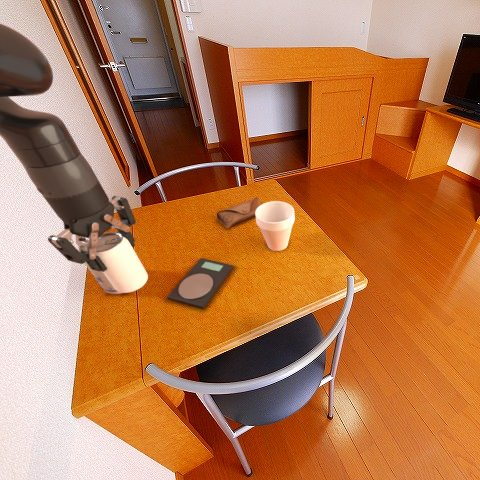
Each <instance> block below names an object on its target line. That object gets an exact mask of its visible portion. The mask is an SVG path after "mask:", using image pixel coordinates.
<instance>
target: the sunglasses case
mask: <svg viewBox="0 0 480 480" xmlns="http://www.w3.org/2000/svg"><path fill="white" fill-rule="evenodd" d="M262 204H263V203H261V201H260V200H259V198H258V197H254V198H252V199H250V200H247V201H244V202H241V203H238V204H235V205H233V206H230V207H228V208H225V209H222V210H219V211H218V212H216V218H217V221H218V222H219V223H220V224H221V225H222V226H224V228H226V229H231V228H232V227H234V226H236V225H239V224H241V223H243V222H246V221H248V220H251V219H253V218H256V216H255V211H256V209H257V208H258V207H259V206H260V205H262Z"/></svg>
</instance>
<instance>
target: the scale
mask: <svg viewBox="0 0 480 480" xmlns="http://www.w3.org/2000/svg"><path fill="white" fill-rule="evenodd" d="M233 269H234V265H232V264H229V263H224V262H220V261H217V260H216V261H215V260H211V259H207V258H203V257H200V259H198V261H197V262H196V263H195V264H194V265H193V266H192V268H191V269H190V270H189V271H188V272H187V273H186V274H185V275H184V277H183V278H182V279H181V280H180V281H179V282H178V284H177V285H176V286H175V287H174V288H173V289H172V290H171V292H169V294H168V295H167V296H166V299H167V300H168V301H172V302H175V303H178V304H182V305H186V306H190V307H193V308H197V309H201V310H204V309H205V308H206V306H207V305H208V303H209V302H210V301H211V300H212V298H213V296H214V295H215V294H216V292H218V290H219V288H220V287H221V286H222V284H223V283H224V281H225V280H226V279H227V278H228V276H229V274H230V273H231V272H232V270H233Z"/></svg>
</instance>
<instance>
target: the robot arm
mask: <svg viewBox="0 0 480 480" xmlns="http://www.w3.org/2000/svg"><path fill="white" fill-rule="evenodd" d="M53 80H54V73H53V68H52V67H51V64H50V62H49V60H48V59H47V57H46V56H45V54H44V53H43V52H42V50H40V48H39V47H38V46H37V45H36V44H35V43H34V42H33V41H32V40H30V39H29V38H28V37H27V36H25V35H24V34H22V33H21V32H19V31H17V30H15V29H14V28H12V27H10V26H8V25H5V24H3V23H0V137H1V138H2V140H4V142H5V143H6V144H7V146H8V148H9V149H10V150H11V151H12V153H13V154H14V156H15V157H16V158H17V159H18V161H19V162H20V164H21V165H22V167H23V168H24V170H25V171H26V174H27V175H28V178H29V179H30V181H31V182H32V183H33V185H34V186H35V188H36V191H38V193H40V195H41V196H42V197H43V198H44V200H45V201H46V202H47V204H48V205H49V206H50V208H51V209H52V210H53V212H54V213H55V214H56V216H57V217H58V218H59V219H60V220H61V222H63V230H61V232H59V233H58V234H57V235H55V234H51V235H49V236H48V238H47V241H48V242H49V244H51V246H53V247H54V248H55V249H56V250H57V251H58V252H59V253H60V254H61V255H62V256H63V257H64V258H65V259H66V260H67V261H68V262H72V263H75V264H80V265H83V264H85V261H86V263H87V264H88V265H89V267H90V268H91V269H92V270H95V271H99V272H100V271H102V272H104V271H106V270H107V267H106V266H105V265H104V263H103V262H102V260H101V259H100V258H99V256H97V253H96V247H97V246H98V238H99V237H101V236H102V235H103V234H105V233H107V232H109V231H110V230H112V229H114V230H115V231H117V233H120V234H122V235H123V237H125V238H126V239H127V240H128V241H129V243H130V244H131V246H132V248H133V249H134V247H135V246H136V244H135V242H136V240H135V237H134V236H133V234H132V232H131V227H132V225H136V222H137V220H136V218H135V216H134V213H133V211H132V208H131V206H130V202H129V200H128V199H127V197H123V196H118V195H117V196H116V195H113V196H112V197H111V200H110V198H109V196H108V194H107V193H106V191H105V190H104V188H103V186H102V184H101V182H100V181H99V179H98V177H97V175H96V174H95V171H94V170H93V168H92V166H91V165H90V162H88V160H87V159H86V158H85V156H84V155H83V154H82V152H81V150H80V149H79V146H78V145H77V143H76V141H75V140H74V138H73V136H72V134H71V133H70V131H69V129H68V127H67V125H65V122H63V119H61V118H60V117H59V116H57V115H55V114H53V113H50V112H45V111H39V110H33V109H30V108H29V109H28V108H25V107H23V106H21V105H20V104H18V103H17V102H16V101H14V100H13V99H12V97H34V96H39V95H43V94H45V93H46V92H47V91H49V90H50V89H51V87H52V85H53V83H54V81H53ZM10 97H11V98H10ZM115 211H116V213H117V215H118V218H119V219H117V218H115ZM73 235H75V241H74V240H73V238H72V236H73ZM74 242H75V243H76V245H77V247H78V248H77V247H75V245H74ZM78 250H79V251H78Z"/></svg>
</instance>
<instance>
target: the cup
mask: <svg viewBox="0 0 480 480" xmlns="http://www.w3.org/2000/svg"><path fill="white" fill-rule="evenodd" d="M261 204H262V205H260V206H259V207H258V208H257V209H256V211H255V216H256V217H255V223H256V225H257V226H258V227H259V229H260V232H261V234H262V236H263V238H264V240H265V243H266V245H267V248H269V250H271V251H274V252H280V251H283V250H285V249H286V248H287V247H288V245H289V241H290V237H291V233H292V229H293V226H294V223H295V219H296V217H295V209H294V206H292V205H291V204H290V203H288V202H285V201H281V200H272V201H267V202H264V203H261Z"/></svg>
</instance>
